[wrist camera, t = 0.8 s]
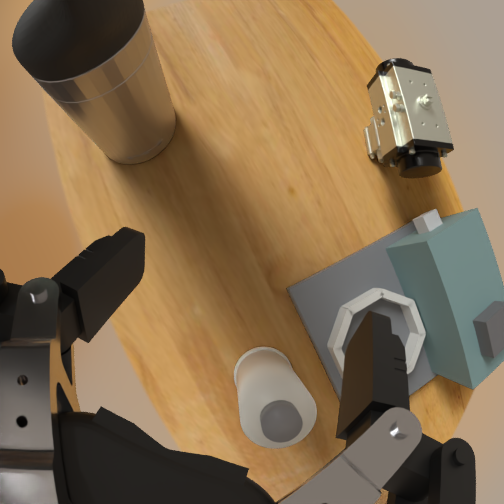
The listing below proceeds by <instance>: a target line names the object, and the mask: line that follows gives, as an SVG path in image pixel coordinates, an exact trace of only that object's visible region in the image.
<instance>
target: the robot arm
mask: <svg viewBox="0 0 504 504" xmlns="http://www.w3.org/2000/svg"><path fill="white" fill-rule="evenodd" d="M12 47H13V52H14V54H15V56H16V58H17V60H18V61H19V62H20V64H21V65H22V66H23V67H24V68H25V69H26V70H27V71H28V73H29V74H30V75H31V76H32V77H33V78H34V79H35V80H36V81H37V82H38V83H39V85H40V86H41V87H42V88H43V89H44V90H45V91H46V92H47V93H48V94H49V95H50V96H51V97H52V98H53V99H54V101H55V102H56V103H57V104H58V105H59V106H60V107H61V108H62V109H63V110H64V111H65V112H66V113H67V114H68V115H69V117H70V118H71V119H72V120H73V121H74V122H75V123H76V124H77V125H78V126H79V127H80V128H81V129H82V130H83V131H84V132H85V133H86V134H87V135H88V136H89V138H90V139H91V140H92V141H93V142H94V143H95V144H96V145H97V146H98V147H99V148H100V149H101V150H102V151H103V152H104V153H105V154H106V155H107V156H108V157H109V158H110V159H112V160H114V161H116V162H118V163H122V164H137V163H142V162H144V161H147V160H150V159H151V158H153V157H154V156H156V155H158V154H159V153H160V152H161V151H162V150H163V149H164V148H165V147H166V146H167V145H168V143H169V142H170V140H171V138H172V136H173V134H174V131H175V127H176V116H175V111H174V108H173V105H172V101H171V98H170V94H169V91H168V87H167V84H166V81H165V77H164V74H163V71H162V67H161V64H160V61H159V57H158V54H157V50H156V47H155V43H154V40H153V36H152V33H151V30H150V26H149V23H148V19H147V16H146V12H145V9H144V4H143V0H34V1H33V2H32V3H31V4H30V5H29V6H28V7H27V9H26V10H25V12H24V13H23V15H22V16H21V18H20V19H19V22H18V23H17V25H16V28H15V30H14V34H13V38H12ZM144 265H145V235H144V233H142V232H139V231H136V230H133V229H130V228H128V227H123V228H121V229H120V230H119V231H118V232H116V233H115V234H114V235H113V236H109V235H108V236H106V237H103V238H101V239H98V240H96V241H94V242H93V243H92V244H91V245H89V246H88V247H87V248H86V250H83V251H82V252H81V253H80V254H79V256H77V257H75V258H74V259H73V260H72V261H70V262H69V263H68V264H67V265H66V266H65V267H63V268H62V269H61V270H60V271H59V272H58V273H57V274H55V275H54V277H52V278H51V279H49V278H44V277H40V278H35V279H32V280H30V281H28V282H26V283H25V284H24V285H23V286H22V285H17V284H13V283H8V282H6V279H5V276H4V273H3V271H2V270H1V269H0V504H374V503H375V502H376V501H377V500H378V499H379V497H380V496H381V491H380V490H381V488H383V489H385V490H387V491H389V492H388V499H387V504H475V501H476V471H475V455H474V452H473V450H472V448H471V446H470V445H469V444H468V443H467V442H466V441H464V440H463V439H460V438H452V439H450V440H448V441H447V442H445V443H444V444H442V443H440V442H438V441H436V440H434V439H432V438H430V437H428V436H426V435H425V434H423V433H422V428H421V425H420V422H419V420H418V419H417V417H416V416H415V415H414V414H413V413H412V412H410V405H409V388H408V374H407V363H406V353H405V347H404V345H403V343H402V341H401V339H400V337H399V335H395V334H392V326H391V319H390V317H388V316H385V315H382V314H379V313H376V312H373V311H368V312H367V314H366V315H365V317H364V318H363V320H362V322H361V323H360V325H359V327H358V328H357V330H356V332H355V333H354V335H353V337H352V338H351V340H350V342H349V344H348V346H347V349H346V352H345V358H344V369H343V380H342V390H341V399H340V408H339V416H338V424H337V432H336V438H339V439H344V440H346V448H345V449H344V450H343V451H341V452H340V453H339V454H338V455H337V456H336V457H334V458H333V459H332V460H331V461H330V462H329V463H327V464H326V465H325V466H324V467H322V468H321V469H320V470H319V471H318V472H316V473H315V474H314V475H313V476H311V477H310V478H309V479H307V480H306V481H305V482H303V483H302V484H301V485H299V486H298V487H297V488H295V489H294V490H292V491H291V492H290V493H288V494H287V495H285V496H284V497H283V498H281V499H280V500H278V501H277V502H274V500H273V499H272V498H271V496H270V495H269V494H268V493H267V492H266V491H265V490H264V489H263V488H262V487H261V486H259V485H258V484H257V483H255V482H254V481H253V480H251V479H249V478H248V477H246V476H247V473H248V470H249V468H246V467H242V466H239V465H236V464H233V463H230V462H227V461H224V460H221V459H218V458H215V457H212V456H208V455H200V454H193V453H187V452H180V451H175V450H169V449H167V448H165V447H163V446H162V445H161V444H159V443H158V442H157V441H155V440H154V439H153V438H151V437H150V436H149V435H147V434H146V433H145V432H144V431H143V430H141V429H140V428H139V427H137V426H136V425H135V424H134V423H132V422H130V421H128V420H126V419H124V418H122V417H120V416H118V415H116V414H114V413H112V412H111V411H109V410H107V409H105V408H103V407H100V409H99V410H98V412H97V413H96V414H94V413H88V412H81V411H80V406H79V403H78V399H77V394H76V383H75V366H74V346H73V342H74V341H75V340H76V339H77V338H80V339H82V340H84V341H85V342H87V343H89V342H90V341H91V339H92V338H93V337H94V335H96V333H97V332H98V331H99V330H100V328H101V327H102V326H103V325H104V324H105V322H106V321H107V320H108V319H109V318H110V317H111V315H112V314H113V313H114V312H115V311H116V309H117V308H118V307H119V306H120V305H121V304H122V302H123V301H124V300H125V299H126V298H127V297H128V295H129V294H130V293H131V292H132V291H133V290H134V289H135V287H136V286H137V285H138V284H139V282H140V281H141V279H142V276H143V273H144Z"/></svg>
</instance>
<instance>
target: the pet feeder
mask: <svg viewBox="0 0 504 504" xmlns="http://www.w3.org/2000/svg"><path fill="white" fill-rule="evenodd" d="M286 289H287V291H288V293H289V295H290V297H291V300H292V302H293V304H294V306H295V308H296V310H297V312H298V314H299V316H300V318H301V320H302V323H303V325H304V327H305V329H306V331H307V333H308V335H309V337H310V339H311V341H312V344H313V346H314V348H315V350H316V352H317V354H318V356H319V358H320V360H321V363H322V365H323V367H324V369H325V371H326V373H327V375H328V377H329V380H330V382H331V384H332V386H333V388H334V390H335V392H336V395H337V397H338V399H339V401H340V399H341V390H342V380H343V369H344V358H345V352H346V349H347V346H348V344H349V342H350V340H351V338H352V337H353V335H354V333H355V332H356V330H357V328H358V327H359V325H360V323H361V322H362V320H363V318H364V317H365V315H366V314H367V312H368V311H373V312H376V313H379V314H382V315H385V316H388V317H390V319H391V326H392V334H395V335H399V337H400V339H401V341H402V343H403V345H404V347H405V353H406V363H407V374H408V388H409V395H411V394H412V393H414V392H415V391H417V390H418V389H419V388H421V387H422V386H423V385H425V384H426V383H428V382H429V381H430V380H432V379H433V378H434V377H435V376H437V375H440V376H443V377H445V378H447V379H450V380H452V381H454V382H456V383H459V384H461V385H463V386H466V387H468V388H470V389H474V388H475V387H477V386H478V385H479V384H480V383H481V382H482V381H483V380H484V379H485V378H486V377H487V376H488V375H489V374H490V373H492V372H493V371H494V370H495V369H496V368H497V367H498V366H499V365H500V364H501V363H502V362H503V361H504V286H503V282H502V278H501V275H500V271H499V268H498V265H497V261H496V259H495V255H494V252H493V249H492V246H491V243H490V240H489V237H488V234H487V232H486V229H485V226H484V224H483V221H482V218H481V216H480V213H479V211H478V208H475V209H471V210H468V211H464V212H461V213H457V214H454V215H450V216H447V217H443V218H440V216H439V214H438V212H437V209H434V210H431V211H428V212H425V213H423V214H422V215H420V216H418V217H416V218H415V219H413V221H411V222H409V223H407V224H406V225H404V226H402V227H400V228H398V229H397V230H395V231H393V232H391V233H390V234H388V235H386V236H384V237H382V238H381V239H379V240H377V241H375V242H373V243H372V244H370V245H368V246H366V247H364V248H362V249H361V250H359V251H357V252H355V253H353V254H351V255H349V256H348V257H346V258H344V259H342V260H340V261H338V262H336V263H334V264H333V265H331V266H329V267H327V268H325V269H323V270H321V271H319V272H317V273H315V274H313V275H312V276H310V277H308V278H306V279H304V280H302V281H300V282H298V283H296V284H294V285H292V286H290V287H288V288H286Z"/></svg>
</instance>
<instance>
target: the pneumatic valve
mask: <svg viewBox="0 0 504 504" xmlns="http://www.w3.org/2000/svg"><path fill="white" fill-rule="evenodd" d="M367 88H368V92H369V96H370V100H371V105H372V109H373V113H374V116H373V117H371V119H370V120H371V124H370V125H369V126H368V127H365V129H364V130H363V131H364V136H365V141H366V147H367V152H368V155H369V156H370V158H371V159H374V158H375V155H377V156H378V161H379V162H380V163H383V164H384V167H398V171H399V175H400V176H401V177H404V178H423V177H428V176H432V175H435V174H437V173H439V172H441V170H442V166H441V161H440V157H447V153H449V152H451V151H453V150H454V148H453V144H452V140H451V136H450V132H449V128H448V124H447V121H446V117H445V113H444V110H443V107H442V104H441V100H440V97H439V94H438V91H437V88H436V85H435V82H434V79H433V76H432V73H431V70H430V69H427V68H423V67H418V66H414V65H413V63H412V62H410V61H408V60H406V59H401V58H396V59H390V60H386V61H384V62H382V63H381V64H379V65H378V67H377V68H376V74H375V75H374V77H373V78H372V79H371V81H370V82H369V83H368V85H367Z"/></svg>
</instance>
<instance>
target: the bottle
mask: <svg viewBox="0 0 504 504" xmlns="http://www.w3.org/2000/svg"><path fill="white" fill-rule="evenodd" d="M234 381H235V385H236V387H237V393H238V404H239V414H240V423H241V427H242V430H243V431H244V433H245V435H246V436H247V437H248V438H249V439H250V440H251V441H252V442H254V443H256V444H257V445H260V446H262V447H266V448H284V447H288V446H291V445H294V444H296V443H297V442H299V441H301V440H302V439H303V438H304V437H306V436H307V435H308V433H309V432H310V431H311V429H312V428H313V426H314V424H315V421H316V417H317V407H316V403H315V401H314V399H313V397H312V396H311V394H310V393H309V391H308V390H307V389H306V387H305V386H304V384H303V383H302V382H301V380H300V379H299V377H298V376H297V375H296V373H295V372H294V370H293V369H292V366H291V363H290V361H289V360H288V358H287V357H286V356H285V355H284V354H283V353H282V352H281V351H279V350H277V349H275V348H272V347H267V346H261V347H256V348H253V349H250V350H248V351H247V352H245V353H244V354H243V355H242V356H241V357H240V358H239V360H238V361H237V363H236V365H235V369H234Z"/></svg>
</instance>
